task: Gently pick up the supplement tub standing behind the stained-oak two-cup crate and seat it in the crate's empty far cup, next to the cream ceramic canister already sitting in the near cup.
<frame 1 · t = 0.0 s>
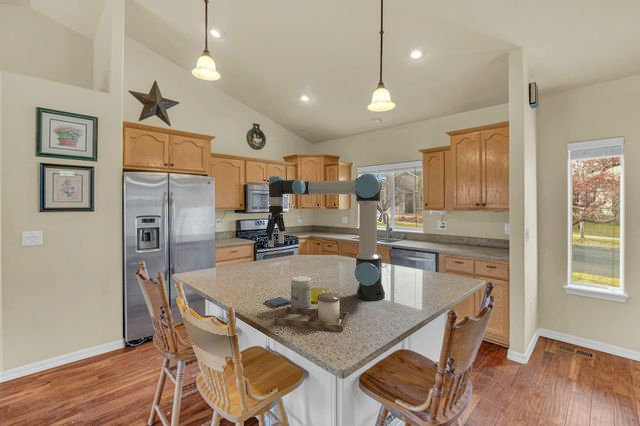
hand: (276, 244, 162), 28 cm above the table, fingers open, 13 cm apart
crate: (312, 322, 127), on the table
element tile: (312, 300, 158), on the table
woven mat: (277, 305, 151), on the table
supplement tub: (301, 309, 144), on the table
canister: (328, 322, 126), point 1 cm above the table, touching crate
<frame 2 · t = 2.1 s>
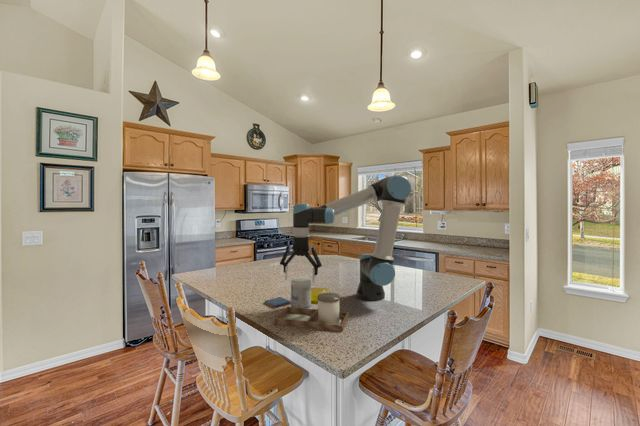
hand: (300, 280, 143), 14 cm above the table, fingers open, 13 cm apart
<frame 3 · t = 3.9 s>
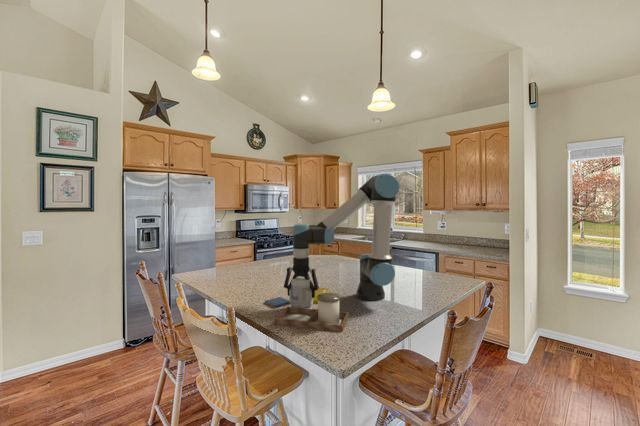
hand: (301, 303, 143), 3 cm above the table, fingers closed on supplement tub, 9 cm apart
supplement tub: (301, 309, 144), on the table, touching gripper
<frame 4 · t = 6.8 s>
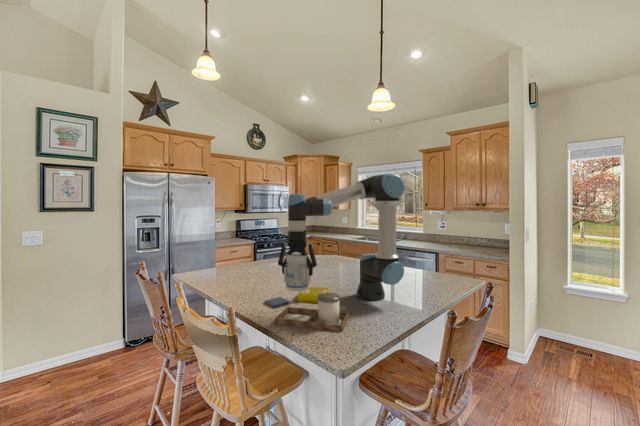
hand: (297, 282, 129), 17 cm above the table, fingers closed on supplement tub, 9 cm apart
supplement tub: (297, 288, 129), point 14 cm above the table, touching gripper
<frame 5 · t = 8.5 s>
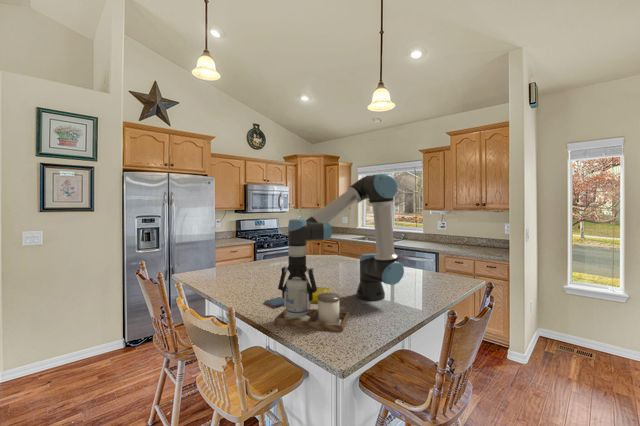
hand: (297, 307, 129), 6 cm above the table, fingers closed on supplement tub, 9 cm apart
supplement tub: (297, 313, 129), point 3 cm above the table, touching gripper
when the fingers open (5 cm above the table, at t = 9.7 s): supplement tub drops 2 cm, resting on crate.
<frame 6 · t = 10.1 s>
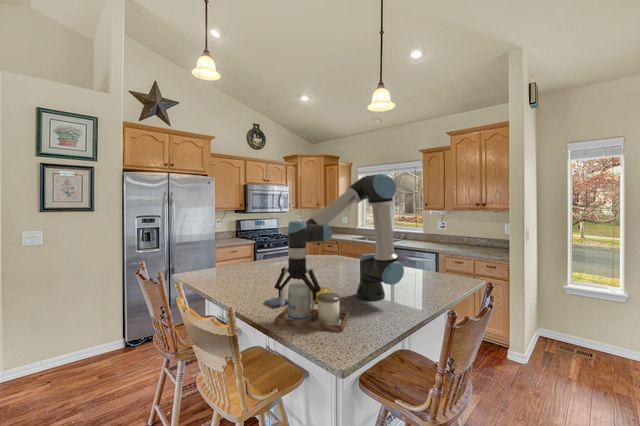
hand: (297, 306, 129), 6 cm above the table, fingers open, 13 cm apart
supplement tub: (299, 319, 129), point 1 cm above the table, touching crate
canister: (328, 322, 126), point 1 cm above the table, touching crate, gripper
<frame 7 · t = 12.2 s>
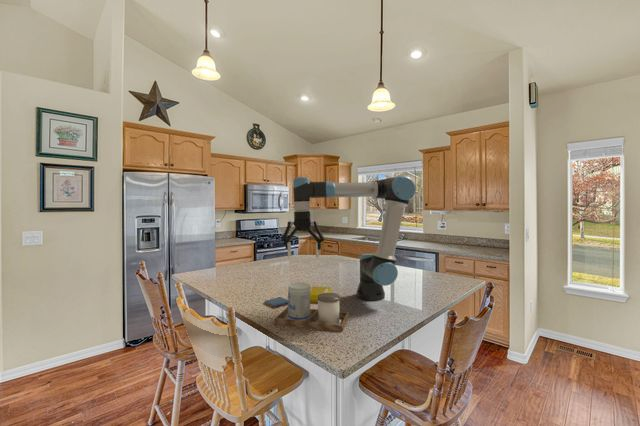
hand: (303, 256, 140), 26 cm above the table, fingers open, 13 cm apart
canister: (328, 322, 126), point 1 cm above the table, touching crate
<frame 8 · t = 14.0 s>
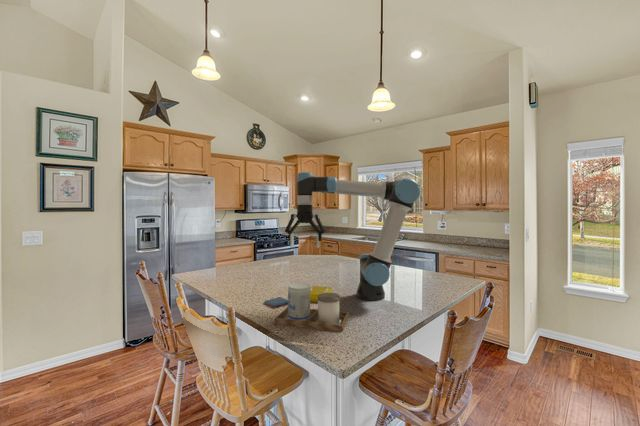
hand: (304, 247, 148), 29 cm above the table, fingers open, 13 cm apart
at the end: supplement tub inside the target area on the crate (0.8 cm from its centre), point 0.6 cm above the crate's base; supplement tub tilted 0°; the gripper is holding nothing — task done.
